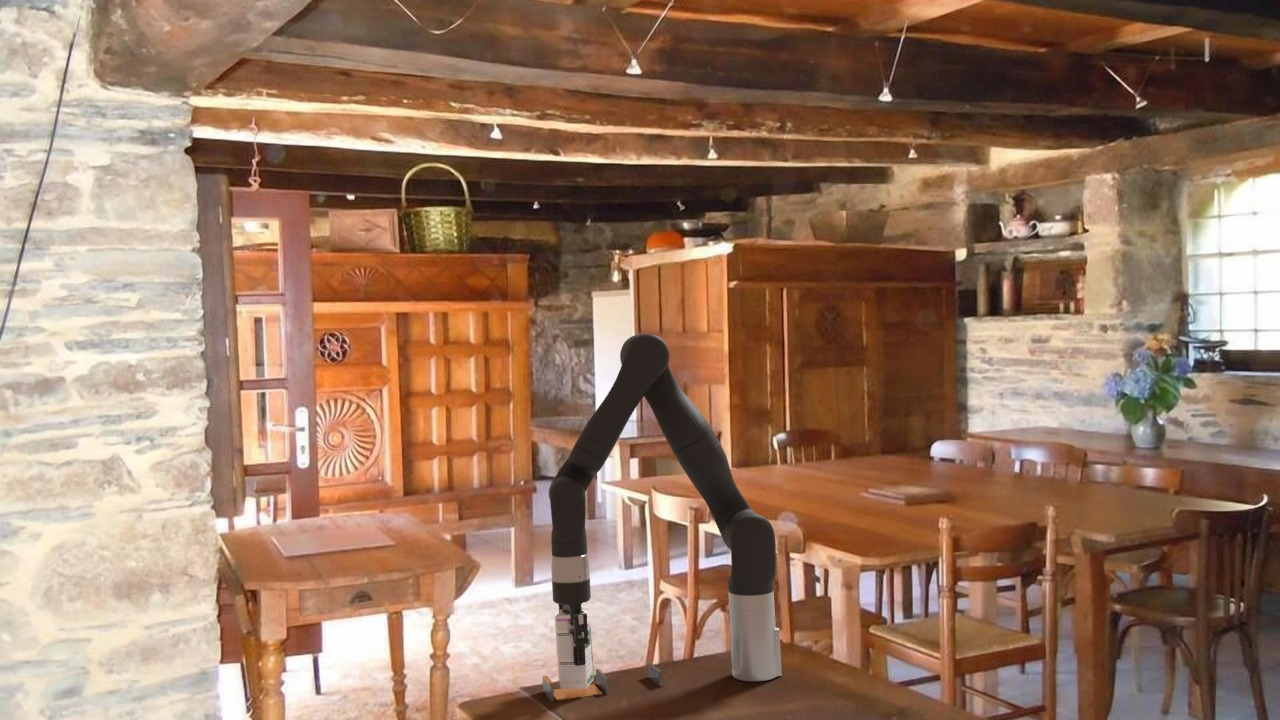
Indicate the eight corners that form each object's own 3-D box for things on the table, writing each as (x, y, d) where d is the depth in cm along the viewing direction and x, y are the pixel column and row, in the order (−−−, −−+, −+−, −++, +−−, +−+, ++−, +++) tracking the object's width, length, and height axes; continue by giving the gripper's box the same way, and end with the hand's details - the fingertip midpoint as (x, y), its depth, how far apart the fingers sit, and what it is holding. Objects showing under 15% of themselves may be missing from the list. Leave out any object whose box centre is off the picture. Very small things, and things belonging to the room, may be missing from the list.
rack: (650, 676, 221) (649, 660, 221) (662, 686, 214) (661, 669, 214) (542, 691, 215) (541, 674, 215) (551, 702, 207) (550, 684, 207)
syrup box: (587, 689, 209) (583, 614, 209) (558, 688, 211) (554, 614, 211) (594, 680, 215) (590, 607, 215) (566, 680, 216) (562, 608, 216)
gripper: (598, 581, 207) (602, 666, 207) (580, 569, 221) (584, 649, 221) (560, 585, 205) (564, 671, 205) (544, 573, 219) (548, 653, 219)
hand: (574, 659), depth 213 cm, fingers closed on syrup box, 7 cm apart
